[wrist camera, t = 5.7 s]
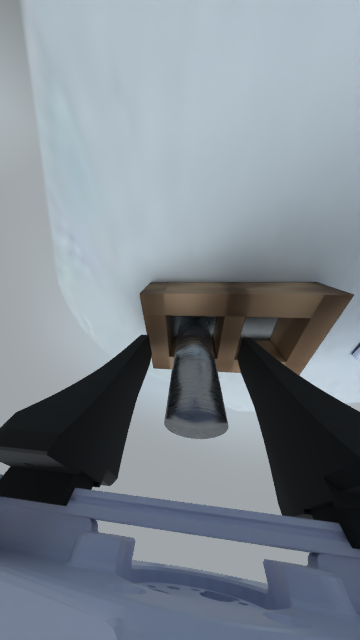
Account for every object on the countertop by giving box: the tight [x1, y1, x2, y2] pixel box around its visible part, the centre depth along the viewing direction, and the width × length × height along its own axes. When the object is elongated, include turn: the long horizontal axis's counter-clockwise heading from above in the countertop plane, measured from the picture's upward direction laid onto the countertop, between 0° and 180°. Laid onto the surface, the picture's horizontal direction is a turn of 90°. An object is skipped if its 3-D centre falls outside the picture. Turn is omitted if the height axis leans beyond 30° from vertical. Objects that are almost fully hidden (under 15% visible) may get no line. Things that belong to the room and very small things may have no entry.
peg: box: [164, 316, 228, 439], centre depth 10 cm, size 3×3×9 cm
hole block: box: [140, 282, 354, 375], centre depth 12 cm, size 14×8×3 cm, turn 91°
